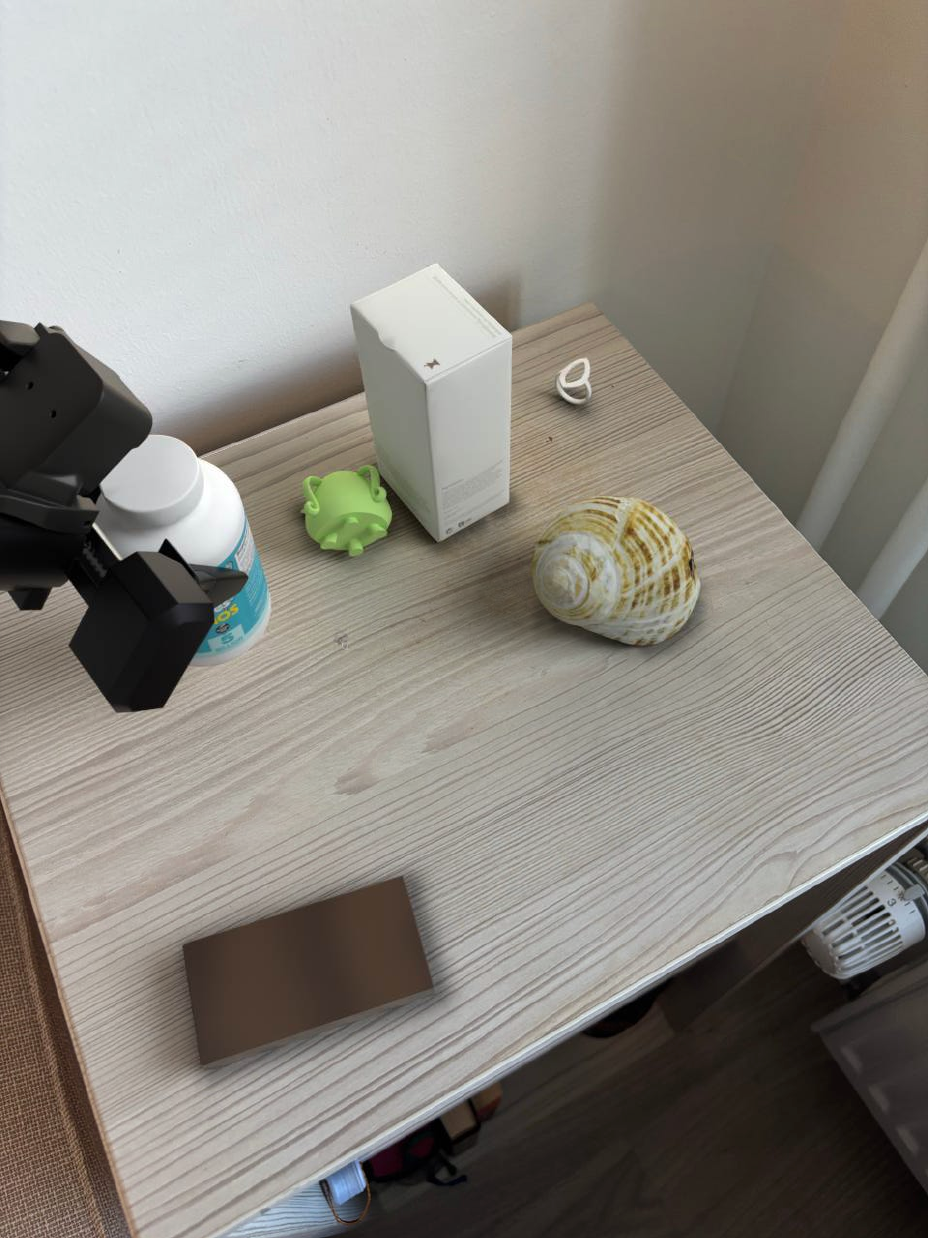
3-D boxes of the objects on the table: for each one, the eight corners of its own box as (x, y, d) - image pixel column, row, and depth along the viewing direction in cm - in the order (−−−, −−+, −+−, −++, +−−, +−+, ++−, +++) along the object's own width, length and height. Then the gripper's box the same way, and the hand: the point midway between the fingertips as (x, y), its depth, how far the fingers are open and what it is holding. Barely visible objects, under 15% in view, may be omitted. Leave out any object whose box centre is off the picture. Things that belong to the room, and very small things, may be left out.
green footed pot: (386, 495, 66) (380, 441, 61) (403, 555, 63) (397, 504, 58) (301, 513, 65) (287, 460, 60) (314, 575, 62) (301, 525, 57)
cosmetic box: (510, 505, 65) (522, 338, 52) (432, 549, 63) (424, 387, 50) (445, 431, 69) (440, 256, 55) (369, 470, 67) (345, 299, 53)
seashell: (732, 589, 61) (720, 554, 52) (623, 687, 62) (592, 669, 53) (630, 487, 65) (602, 436, 55) (529, 581, 66) (484, 547, 57)
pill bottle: (137, 672, 53) (48, 534, 41) (159, 564, 57) (83, 411, 45) (267, 673, 53) (214, 536, 41) (281, 566, 57) (236, 412, 45)
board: (212, 1070, 47) (200, 1066, 45) (193, 953, 50) (181, 944, 48) (436, 994, 49) (434, 987, 47) (405, 886, 52) (403, 874, 50)
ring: (548, 389, 71) (553, 361, 68) (581, 384, 71) (587, 356, 69) (557, 415, 70) (562, 387, 67) (590, 409, 70) (597, 382, 67)
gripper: (94, 501, 29) (389, 527, 43) (-136, 211, 37) (178, 310, 50) (-27, 744, 34) (276, 699, 47) (-212, 442, 41) (96, 476, 54)
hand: (204, 536), depth 49 cm, fingers closed on pill bottle, 7 cm apart
